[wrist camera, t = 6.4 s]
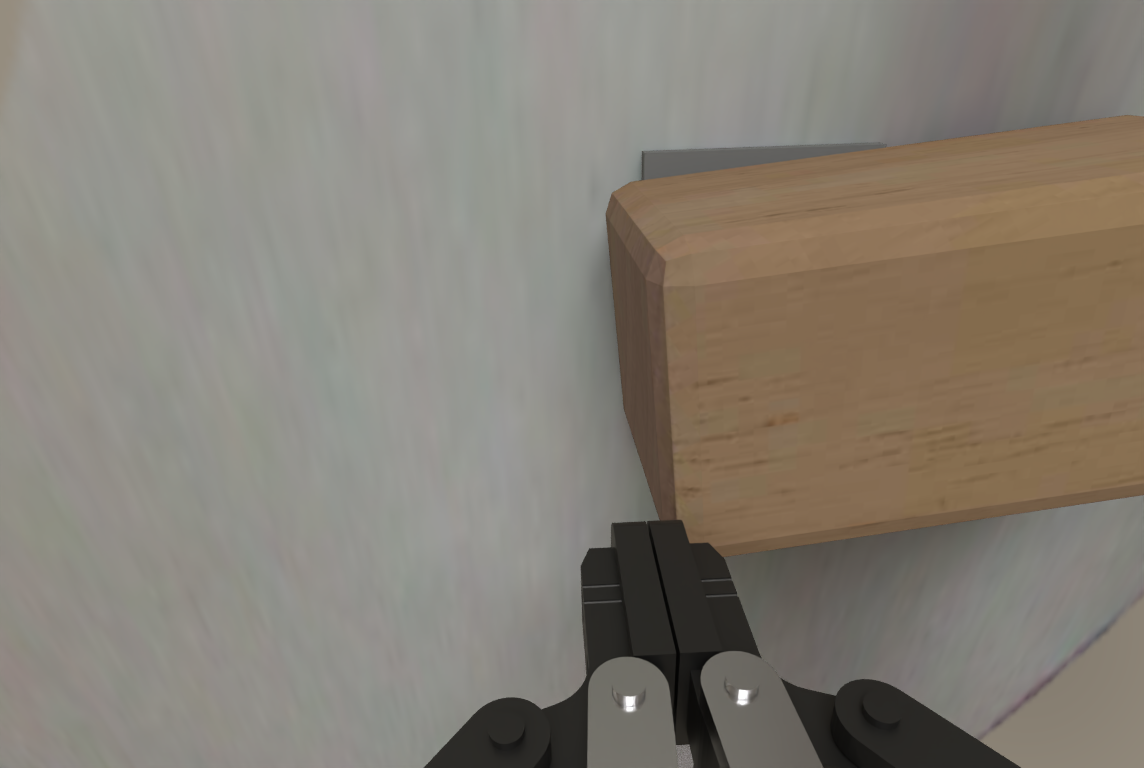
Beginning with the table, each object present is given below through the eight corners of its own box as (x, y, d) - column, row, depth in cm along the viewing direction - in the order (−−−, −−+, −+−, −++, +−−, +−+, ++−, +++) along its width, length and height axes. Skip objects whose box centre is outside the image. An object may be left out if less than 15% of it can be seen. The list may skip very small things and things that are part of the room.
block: (622, 418, 29) (1072, 353, 29) (672, 579, 20) (1320, 483, 20) (599, 180, 24) (1130, 109, 25) (650, 250, 15) (1478, 137, 16)
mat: (879, 142, 25) (886, 144, 25) (830, 439, 31) (836, 445, 30) (642, 151, 25) (644, 153, 24) (637, 448, 31) (639, 455, 30)
